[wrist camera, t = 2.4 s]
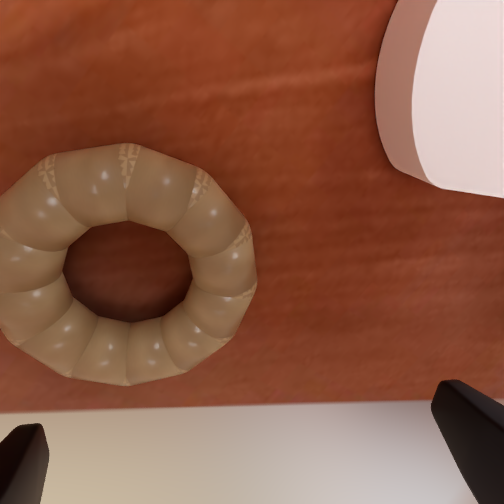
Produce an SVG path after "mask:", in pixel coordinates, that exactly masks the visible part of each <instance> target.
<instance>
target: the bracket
mask: <svg viewBox="0 0 504 504" xmlns="http://www.w3.org/2000/svg"><path fill="white" fill-rule="evenodd" d="M375 112H376V120H377V126H378V131H379V135H380V139H381V142H382V145H383V148H384V150H385V152H386V154H387V157H388V159H389V161H390V162H391V164H392V165H393V166H394V167H395V168H396V169H398V170H399V171H401V172H403V173H406V174H408V175H411V176H413V177H415V178H418V179H420V180H422V181H425V182H427V183H430V184H432V185H434V186H437V187H439V188H442V189H448V190H454V191H461V192H467V193H474V194H481V195H487V196H494V197H500V198H504V0H398V2H397V4H396V6H395V9H394V11H393V13H392V16H391V18H390V21H389V23H388V26H387V29H386V32H385V35H384V38H383V42H382V46H381V50H380V54H379V59H378V65H377V72H376V81H375Z"/></svg>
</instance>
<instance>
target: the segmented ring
mask: <svg viewBox="0 0 504 504" xmlns="http://www.w3.org/2000/svg"><path fill="white" fill-rule="evenodd" d="M128 220H129V221H132V222H136V223H139V224H142V225H146V226H149V227H152V228H155V229H159V230H162V231H165V232H166V233H167V234H168V235H169V236H170V237H171V238H172V239H173V240H174V241H175V242H176V243H177V244H178V245H179V246H180V247H181V248H182V249H183V250H184V251H185V252H186V253H187V254H188V257H189V262H190V266H191V271H192V275H193V279H192V282H191V284H190V287H189V289H188V292H187V294H186V297H185V299H184V300H183V301H182V302H181V303H180V304H178V305H177V306H176V307H174V308H173V309H172V310H170V311H169V312H168V313H167V314H165V315H164V316H163V317H158V318H153V319H148V320H144V321H139V322H134V323H129V322H124V321H119V320H115V319H110V318H105V317H101V316H97V315H96V314H95V313H93V312H92V311H91V310H90V309H88V308H87V307H86V306H84V305H83V304H82V303H80V302H79V301H78V300H76V299H75V298H74V297H73V296H72V294H71V292H70V289H69V287H68V284H67V282H66V279H65V277H64V274H63V272H62V270H63V266H64V262H65V258H66V254H67V250H68V246H69V245H71V244H72V243H73V242H74V241H75V240H77V239H78V238H79V237H80V236H81V235H83V234H84V233H85V232H86V231H87V230H89V229H90V228H91V227H93V226H99V225H105V224H111V223H116V222H122V221H128ZM256 287H257V272H256V264H255V256H254V248H253V240H252V233H251V228H250V225H249V223H248V221H247V219H246V218H245V217H244V215H243V214H242V213H241V212H240V211H239V209H238V208H237V207H236V206H235V205H234V203H233V202H232V201H231V200H230V199H229V197H228V196H227V195H226V194H225V193H224V191H223V190H222V189H221V188H220V187H219V185H218V184H217V183H216V182H215V181H214V179H213V178H212V177H211V176H210V175H209V174H208V173H207V172H206V171H204V170H203V169H201V168H199V167H197V166H194V165H192V164H189V163H186V162H184V161H181V160H178V159H176V158H173V157H170V156H168V155H165V154H162V153H160V152H157V151H154V150H152V149H149V148H146V147H144V146H141V145H138V144H134V143H119V144H112V145H106V146H99V147H92V148H86V149H79V150H72V151H66V152H59V153H55V154H52V155H49V156H47V157H45V158H43V159H42V160H41V161H39V162H38V163H37V164H36V165H35V166H34V167H32V168H31V169H30V170H29V171H28V172H27V173H26V174H25V175H23V176H22V177H21V178H20V179H19V180H18V181H17V182H16V183H14V184H13V185H12V186H11V187H10V188H9V189H8V190H7V191H5V192H4V193H3V194H2V195H1V196H0V328H1V330H2V332H3V334H4V336H5V337H6V338H7V340H8V341H9V342H10V343H12V344H13V345H14V346H15V347H17V348H19V349H20V350H22V351H23V352H25V353H27V354H28V355H30V356H31V357H33V358H35V359H36V360H38V361H39V362H41V363H43V364H44V365H46V366H47V367H49V368H51V369H52V370H54V371H55V372H57V373H58V374H60V375H62V376H65V377H68V378H73V379H80V380H86V381H93V382H99V383H106V384H112V385H119V386H132V385H137V384H141V383H145V382H150V381H154V380H159V379H163V378H167V377H172V376H176V375H180V374H183V373H186V372H188V371H189V370H191V369H192V368H194V367H195V366H196V365H198V364H199V363H201V362H202V361H203V360H205V359H206V358H207V357H209V356H210V355H211V354H213V353H214V352H216V351H217V350H218V349H220V348H221V347H222V346H224V345H225V344H226V343H228V342H229V341H230V340H231V339H232V338H233V336H234V335H235V333H236V331H237V329H238V327H239V325H240V323H241V321H242V319H243V317H244V315H245V312H246V310H247V308H248V306H249V304H250V302H251V300H252V298H253V296H254V293H255V291H256Z"/></svg>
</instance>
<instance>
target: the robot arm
mask: <svg viewBox="0 0 504 504" xmlns="http://www.w3.org/2000/svg"><path fill="white" fill-rule="evenodd" d="M431 411H432V414H433V416H434V419H435V421H436V423H437V425H438V427H439V429H440V431H441V433H442V435H443V437H444V439H445V441H446V443H447V445H448V447H449V449H450V452H451V453H452V455H453V457H454V460H455V462H456V464H457V466H458V468H459V470H460V472H461V474H462V476H463V478H464V479H465V481H466V483H467V485H468V486H469V488H470V490H471V492H472V493H473V495H474V497H475V498H476V500H477V502H478V503H479V504H504V406H503V405H502V404H500V403H498V402H496V401H495V400H493V399H491V398H489V397H488V396H486V395H484V394H482V393H481V392H479V391H477V390H475V389H474V388H472V387H470V386H468V385H467V384H465V383H463V382H461V381H459V380H455V379H454V380H444V381H441V382H440V383H439V385H438V387H437V390H436V392H435V395H434V398H433V400H432V403H431ZM48 462H49V448H48V444H47V441H46V437H45V433H44V429H43V426H42V425H41V424H39V423H35V424H25V425H20V426H17V427H16V428H15V429H13V431H11V432H10V433H9V435H8V436H7V437H5V438H4V440H3V441H2V442H1V443H0V504H40V501H41V496H42V491H43V486H44V482H45V477H46V472H47V467H48Z"/></svg>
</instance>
